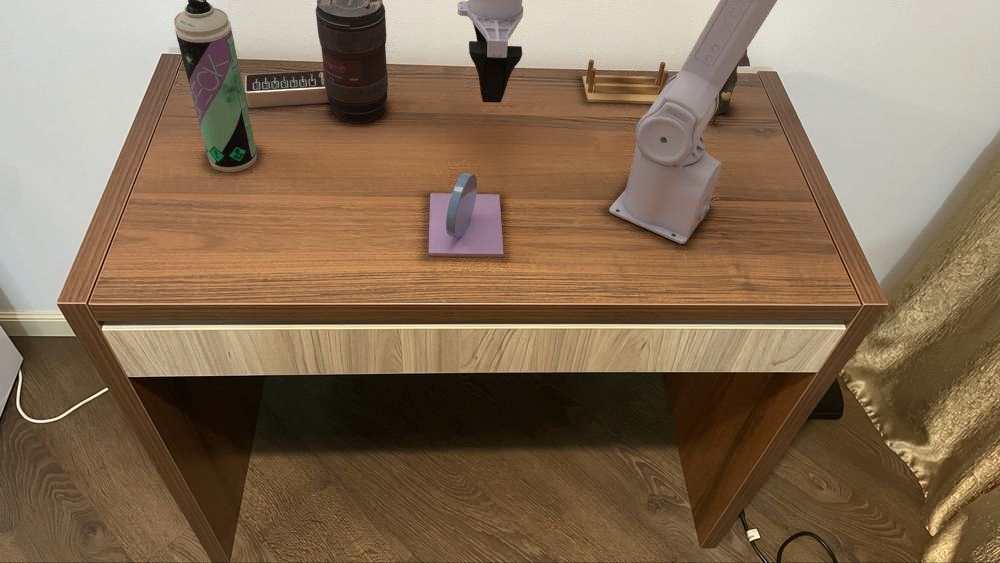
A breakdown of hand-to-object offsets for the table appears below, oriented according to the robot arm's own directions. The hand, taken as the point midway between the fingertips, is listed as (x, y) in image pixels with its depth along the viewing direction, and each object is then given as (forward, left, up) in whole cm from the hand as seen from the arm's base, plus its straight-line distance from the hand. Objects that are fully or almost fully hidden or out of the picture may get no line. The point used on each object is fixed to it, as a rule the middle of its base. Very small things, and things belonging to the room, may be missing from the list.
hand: (490, 82), depth 88 cm
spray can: (+23, +20, -10) cm, 32 cm away
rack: (-8, -23, -9) cm, 26 cm away
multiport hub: (+27, +6, -10) cm, 29 cm away
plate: (-6, +15, -5) cm, 17 cm away
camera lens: (+18, +3, -10) cm, 21 cm away
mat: (-6, +13, -9) cm, 17 cm away
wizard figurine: (-21, -26, -10) cm, 35 cm away
